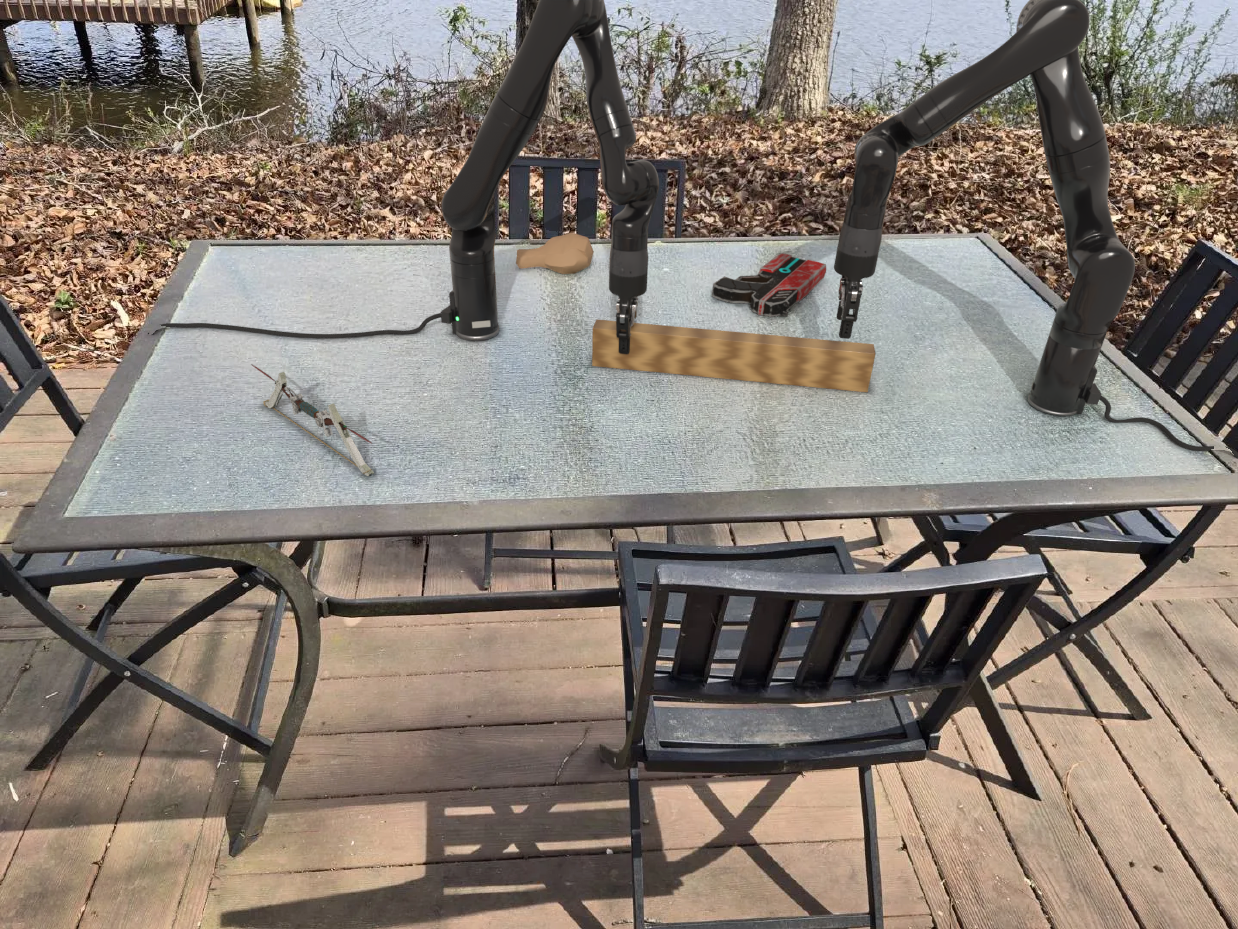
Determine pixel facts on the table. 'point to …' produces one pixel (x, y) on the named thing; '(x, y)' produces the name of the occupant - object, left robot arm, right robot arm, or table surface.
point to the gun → (772, 285)
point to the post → (736, 356)
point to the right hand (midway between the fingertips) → (843, 328)
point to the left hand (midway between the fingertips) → (626, 347)
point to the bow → (318, 419)
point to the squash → (559, 254)
